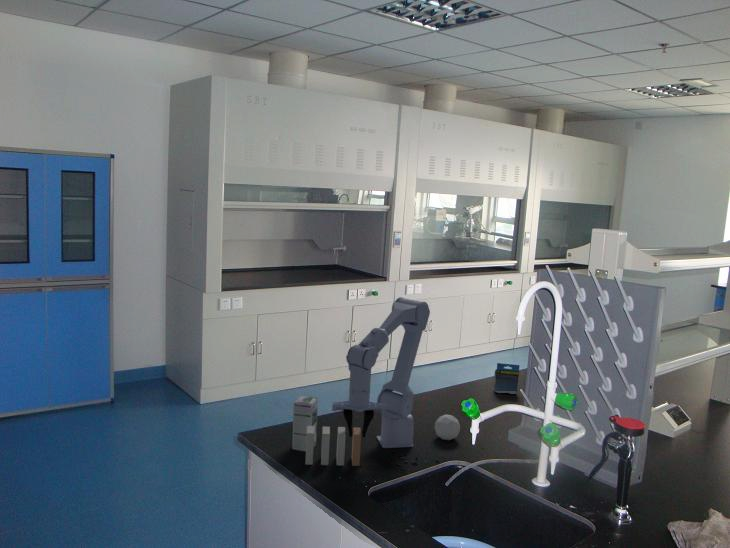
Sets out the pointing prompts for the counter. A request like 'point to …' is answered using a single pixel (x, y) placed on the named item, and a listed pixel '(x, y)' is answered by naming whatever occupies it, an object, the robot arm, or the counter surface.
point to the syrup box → (304, 421)
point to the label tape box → (506, 377)
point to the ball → (447, 427)
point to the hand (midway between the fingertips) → (357, 435)
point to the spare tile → (356, 446)
